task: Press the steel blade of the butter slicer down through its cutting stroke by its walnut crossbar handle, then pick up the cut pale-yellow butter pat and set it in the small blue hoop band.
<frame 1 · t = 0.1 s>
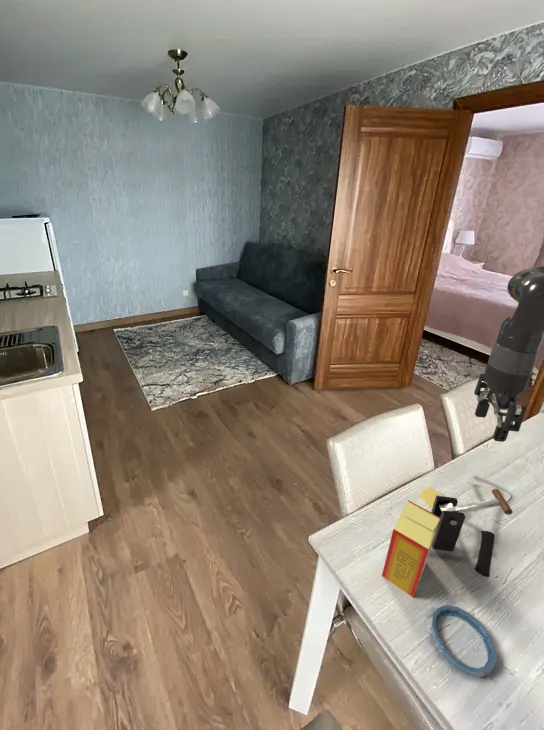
hand: (488, 427, 78), 29 cm above the table, tool pointing down, fingers open, 8 cm apart
butter pat: (429, 503, 94), on the table
blue hoop band: (459, 645, 65), on the table
slicer: (437, 544, 83), on the table
baking soda box: (403, 573, 77), on the table
kitchen cleaver: (479, 524, 88), on the table
slicer blade: (473, 506, 77), point 13 cm above the table, hinge at 28.0°
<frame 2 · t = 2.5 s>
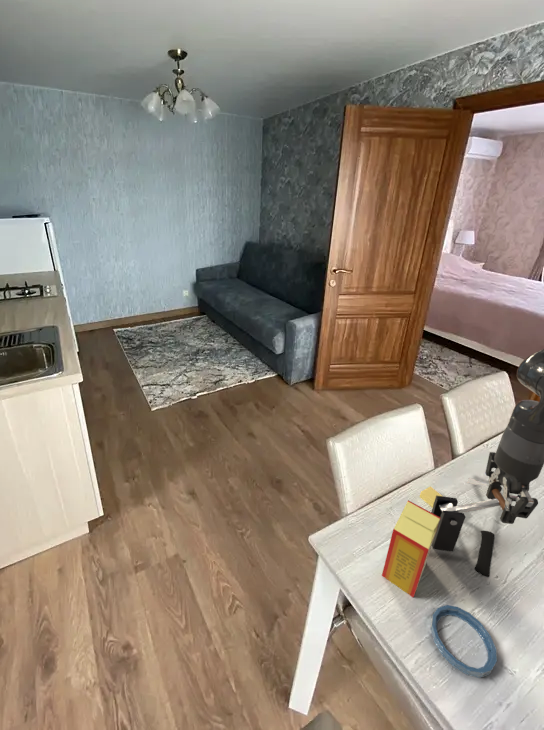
hand: (498, 509, 76), 14 cm above the table, tool pointing down, fingers closed on slicer blade, 5 cm apart
slicer blade: (473, 506, 77), point 13 cm above the table, hinge at 27.9°, touching gripper
everything else where it was.
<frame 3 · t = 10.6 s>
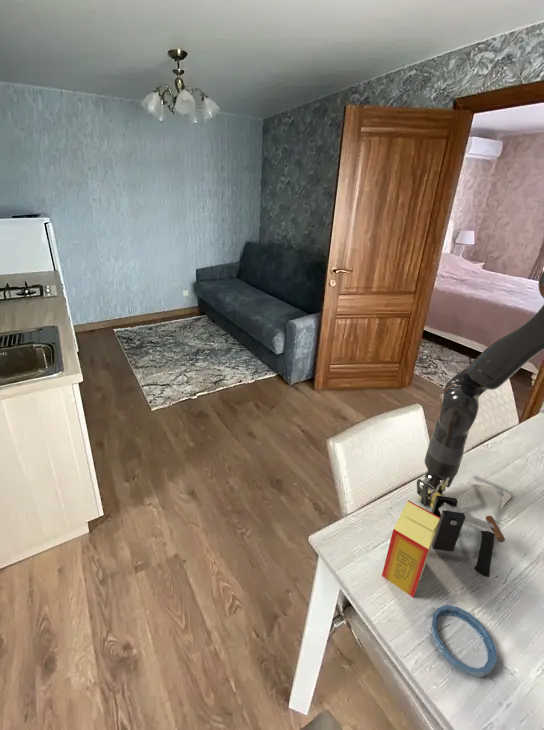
hand: (430, 502, 94), 0 cm above the table, tool pointing down, fingers closed on butter pat, 4 cm apart
butter pat: (429, 503, 94), on the table, touching gripper
slicer blade: (470, 519, 79), point 10 cm above the table, hinge at -16.6°
everything else where it was.
when the fingers open (1 cm above the table, at t = 20.6 s): butter pat stays where it is, resting on blue hoop band.
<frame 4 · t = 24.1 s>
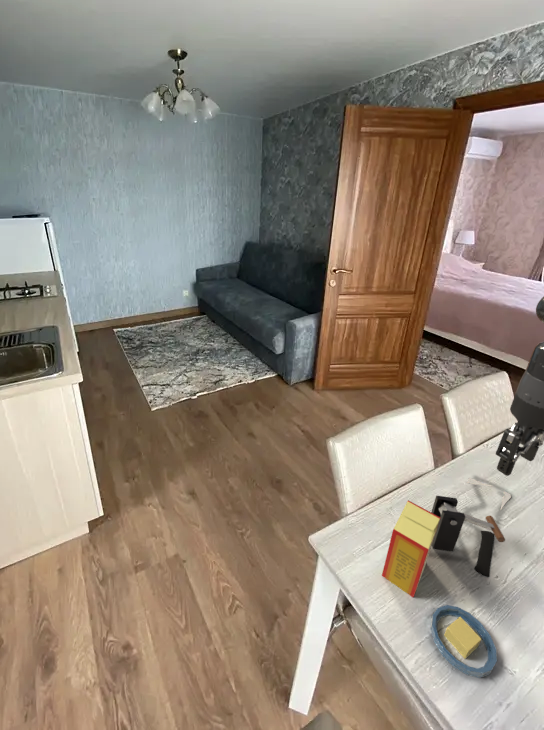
hand: (515, 465, 69), 28 cm above the table, tool pointing down, fingers open, 8 cm apart
butter pat: (459, 643, 65), point 1 cm above the table, touching blue hoop band
everything else where it was.
at the end: slicer blade at -17° (first picture: +28°); butter pat 0.1 cm off-centre in the blue hoop band, point 0.6 cm above the blue hoop band's base; the gripper is holding nothing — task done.
